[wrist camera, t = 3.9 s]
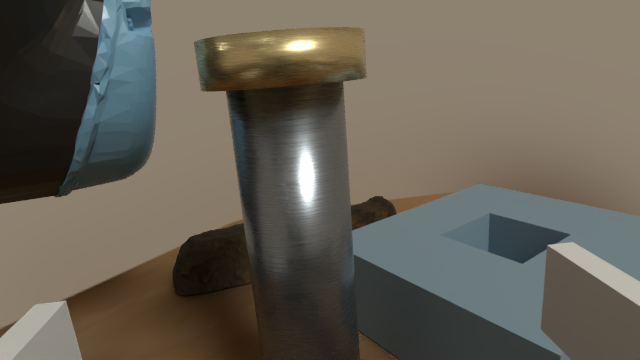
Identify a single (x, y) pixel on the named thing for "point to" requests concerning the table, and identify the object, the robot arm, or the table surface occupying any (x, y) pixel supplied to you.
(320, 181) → the pin
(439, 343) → the socket block
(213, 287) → the dark brown wooden club
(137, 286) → the table surface
